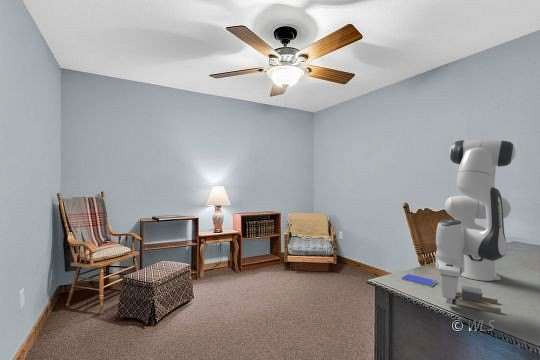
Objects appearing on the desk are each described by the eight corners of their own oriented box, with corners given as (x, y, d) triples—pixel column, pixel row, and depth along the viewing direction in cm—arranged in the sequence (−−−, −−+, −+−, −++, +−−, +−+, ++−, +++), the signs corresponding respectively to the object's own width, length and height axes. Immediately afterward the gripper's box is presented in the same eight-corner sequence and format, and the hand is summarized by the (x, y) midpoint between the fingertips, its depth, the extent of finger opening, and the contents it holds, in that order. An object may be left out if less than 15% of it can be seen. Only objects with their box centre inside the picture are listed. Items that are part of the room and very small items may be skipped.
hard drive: (437, 280, 125) (408, 273, 134) (431, 284, 120) (401, 277, 128) (437, 283, 125) (408, 276, 134) (431, 288, 119) (401, 280, 128)
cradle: (444, 289, 117) (444, 279, 117) (496, 299, 107) (496, 288, 107) (442, 301, 105) (442, 290, 105) (500, 313, 96) (501, 301, 96)
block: (461, 298, 109) (461, 285, 109) (480, 302, 106) (481, 288, 106) (462, 303, 104) (462, 290, 104) (482, 307, 101) (482, 294, 101)
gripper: (440, 256, 111) (440, 291, 111) (438, 270, 94) (437, 310, 94) (459, 259, 108) (459, 294, 108) (460, 273, 91) (460, 315, 91)
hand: (449, 302), depth 101 cm, fingers closed
